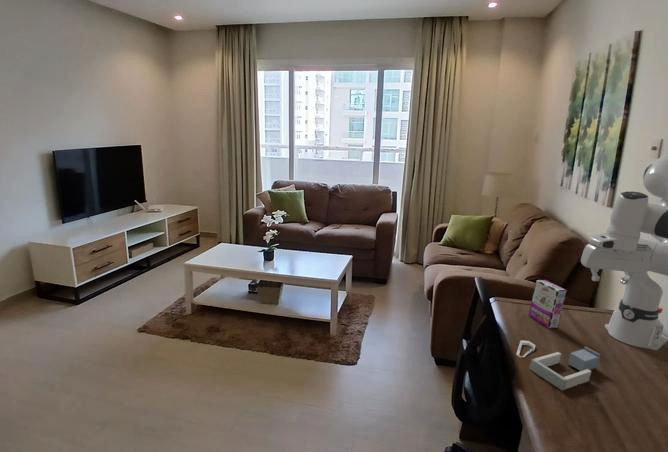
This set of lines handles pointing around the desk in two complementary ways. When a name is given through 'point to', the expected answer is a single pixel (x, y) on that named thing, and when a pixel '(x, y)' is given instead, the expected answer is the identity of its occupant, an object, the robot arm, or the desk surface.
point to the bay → (554, 378)
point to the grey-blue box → (584, 359)
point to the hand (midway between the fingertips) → (609, 282)
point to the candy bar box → (547, 303)
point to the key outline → (525, 344)
